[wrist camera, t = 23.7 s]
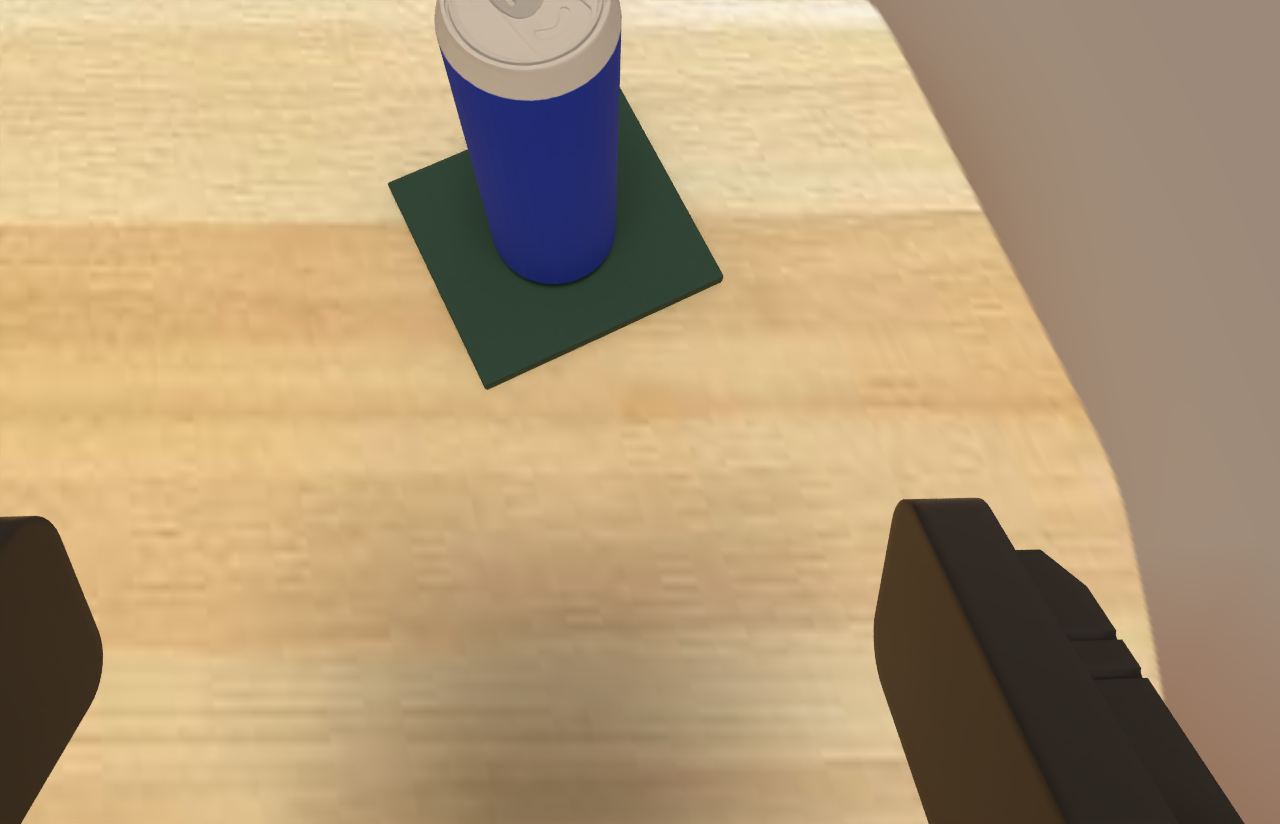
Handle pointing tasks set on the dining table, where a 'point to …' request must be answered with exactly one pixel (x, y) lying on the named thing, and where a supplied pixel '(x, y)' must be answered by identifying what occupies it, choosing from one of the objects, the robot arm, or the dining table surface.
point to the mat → (554, 313)
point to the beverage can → (539, 125)
